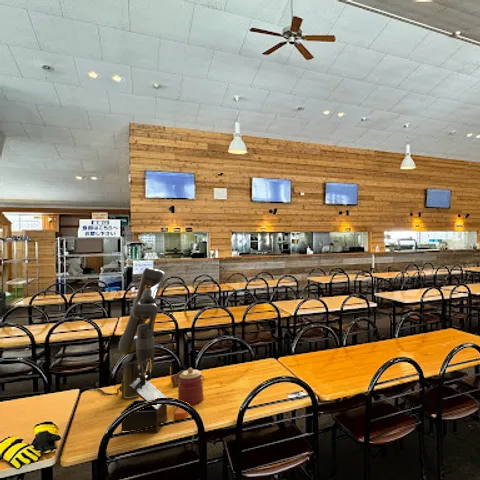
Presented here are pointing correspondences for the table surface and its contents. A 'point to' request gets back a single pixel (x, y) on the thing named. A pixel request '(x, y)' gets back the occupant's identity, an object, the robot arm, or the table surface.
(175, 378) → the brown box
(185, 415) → the block
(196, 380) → the kitchen canister
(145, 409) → the trash bin
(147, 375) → the bin lid
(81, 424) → the table surface
